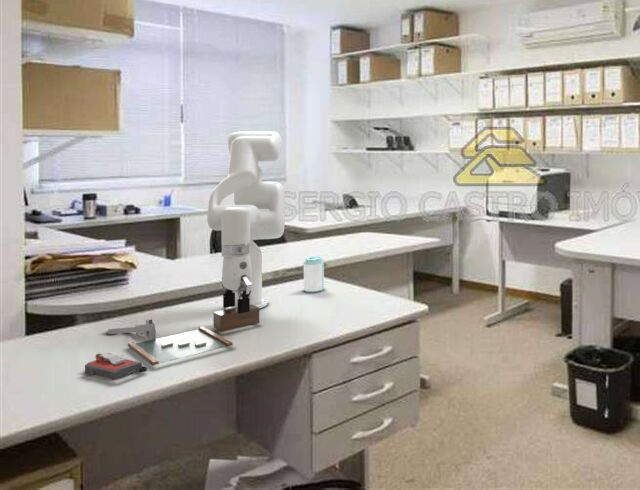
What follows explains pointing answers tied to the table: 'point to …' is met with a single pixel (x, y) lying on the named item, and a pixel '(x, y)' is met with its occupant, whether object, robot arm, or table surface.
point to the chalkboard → (163, 354)
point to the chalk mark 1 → (167, 344)
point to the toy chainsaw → (113, 366)
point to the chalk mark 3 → (200, 344)
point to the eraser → (235, 318)
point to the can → (313, 274)
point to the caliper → (137, 330)
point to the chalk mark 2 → (183, 344)
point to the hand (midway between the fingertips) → (236, 309)
